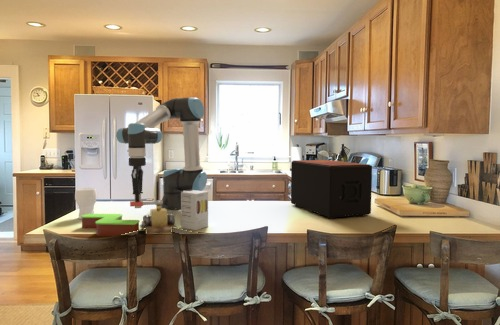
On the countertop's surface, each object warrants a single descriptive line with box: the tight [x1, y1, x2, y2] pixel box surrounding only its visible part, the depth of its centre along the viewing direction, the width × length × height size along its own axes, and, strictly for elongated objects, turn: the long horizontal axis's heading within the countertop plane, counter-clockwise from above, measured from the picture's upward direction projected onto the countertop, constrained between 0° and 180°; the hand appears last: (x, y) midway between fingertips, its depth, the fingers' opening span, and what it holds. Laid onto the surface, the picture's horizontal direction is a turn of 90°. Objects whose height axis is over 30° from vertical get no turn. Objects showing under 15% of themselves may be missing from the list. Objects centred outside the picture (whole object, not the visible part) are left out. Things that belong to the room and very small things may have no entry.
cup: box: [74, 187, 98, 220], centre depth 190 cm, size 11×11×15 cm
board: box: [141, 220, 177, 235], centre depth 170 cm, size 14×20×2 cm
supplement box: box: [180, 190, 209, 231], centre depth 171 cm, size 10×9×17 cm
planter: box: [81, 213, 140, 237], centre depth 165 cm, size 30×18×6 cm, turn 88°
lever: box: [129, 199, 163, 207], centre depth 167 cm, size 14×4×2 cm, turn 107°
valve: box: [142, 205, 176, 227], centre depth 169 cm, size 14×6×10 cm, turn 110°
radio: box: [290, 159, 373, 220], centre depth 211 cm, size 45×27×28 cm, turn 20°
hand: (138, 207), depth 169 cm, fingers closed
